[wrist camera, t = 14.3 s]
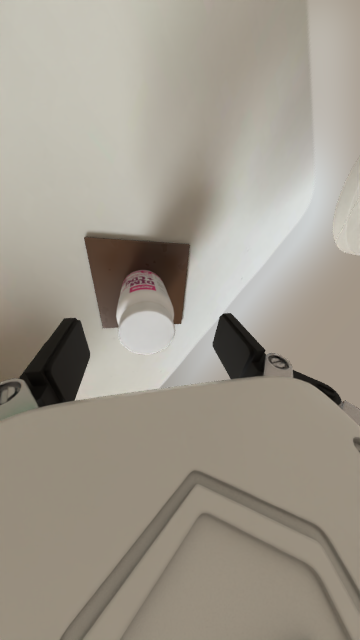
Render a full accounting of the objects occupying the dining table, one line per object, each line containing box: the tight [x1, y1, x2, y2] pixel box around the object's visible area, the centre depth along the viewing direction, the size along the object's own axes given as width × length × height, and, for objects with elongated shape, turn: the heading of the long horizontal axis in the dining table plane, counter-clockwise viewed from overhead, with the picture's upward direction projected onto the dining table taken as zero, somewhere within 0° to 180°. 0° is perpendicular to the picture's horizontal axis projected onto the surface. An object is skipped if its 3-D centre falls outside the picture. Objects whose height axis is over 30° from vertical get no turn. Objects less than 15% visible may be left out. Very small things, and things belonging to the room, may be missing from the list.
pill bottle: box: [116, 270, 175, 355], centre depth 15 cm, size 5×5×8 cm
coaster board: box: [84, 237, 190, 328], centre depth 18 cm, size 10×10×1 cm
